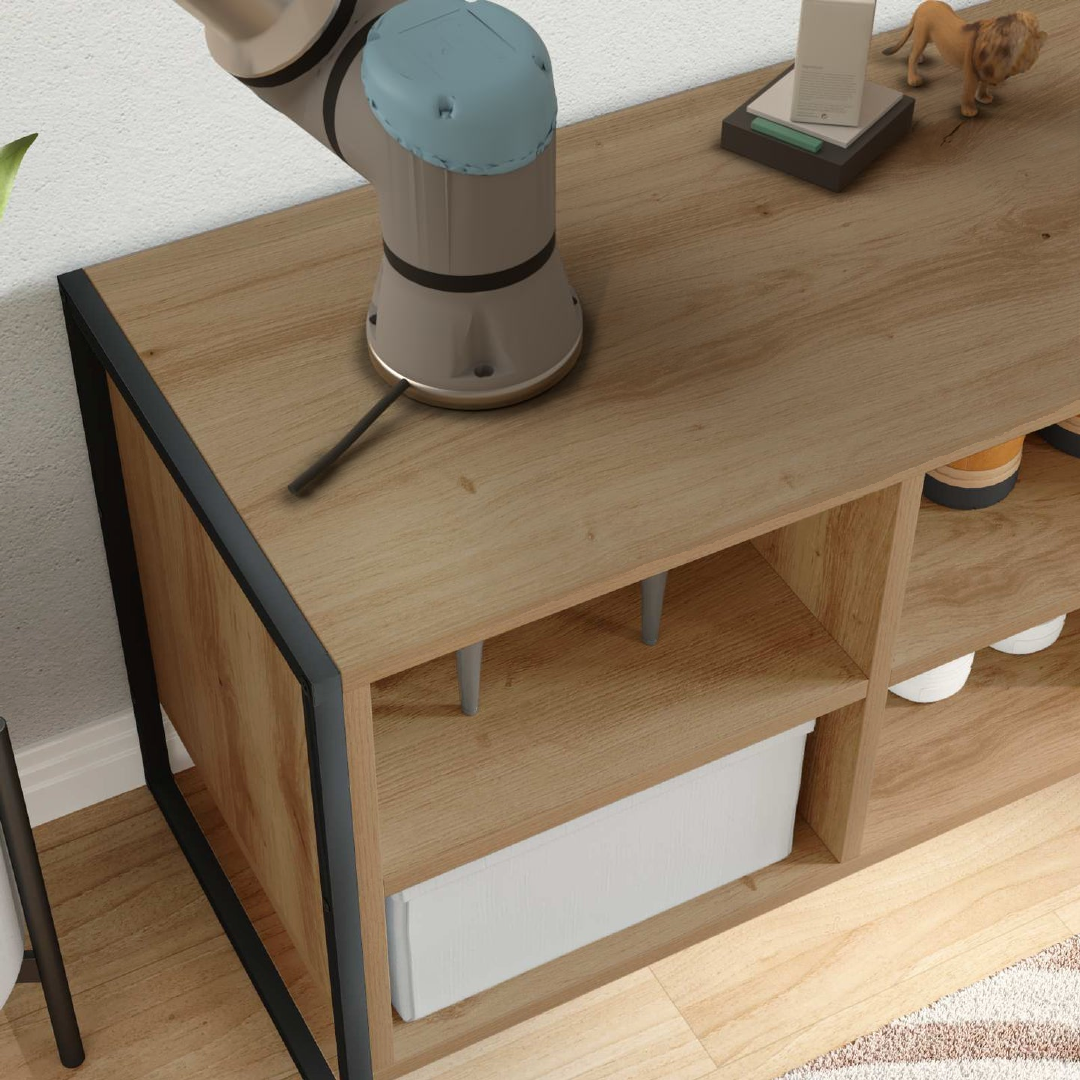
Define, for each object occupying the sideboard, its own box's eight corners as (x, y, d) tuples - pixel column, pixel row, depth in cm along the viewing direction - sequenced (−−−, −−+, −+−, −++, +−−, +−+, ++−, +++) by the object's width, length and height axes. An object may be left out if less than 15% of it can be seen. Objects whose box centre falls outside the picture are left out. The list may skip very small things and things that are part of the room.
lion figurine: (1040, 111, 131) (1065, 10, 125) (1003, 135, 129) (1026, 34, 122) (898, 47, 139) (914, -51, 132) (860, 70, 136) (875, -29, 130)
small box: (858, 129, 124) (876, 4, 117) (787, 122, 125) (801, -2, 118) (864, 77, 130) (882, -46, 122) (796, 71, 131) (810, -51, 123)
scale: (837, 192, 124) (842, 158, 121) (720, 147, 128) (722, 113, 126) (911, 125, 130) (917, 92, 128) (796, 84, 135) (800, 51, 133)
